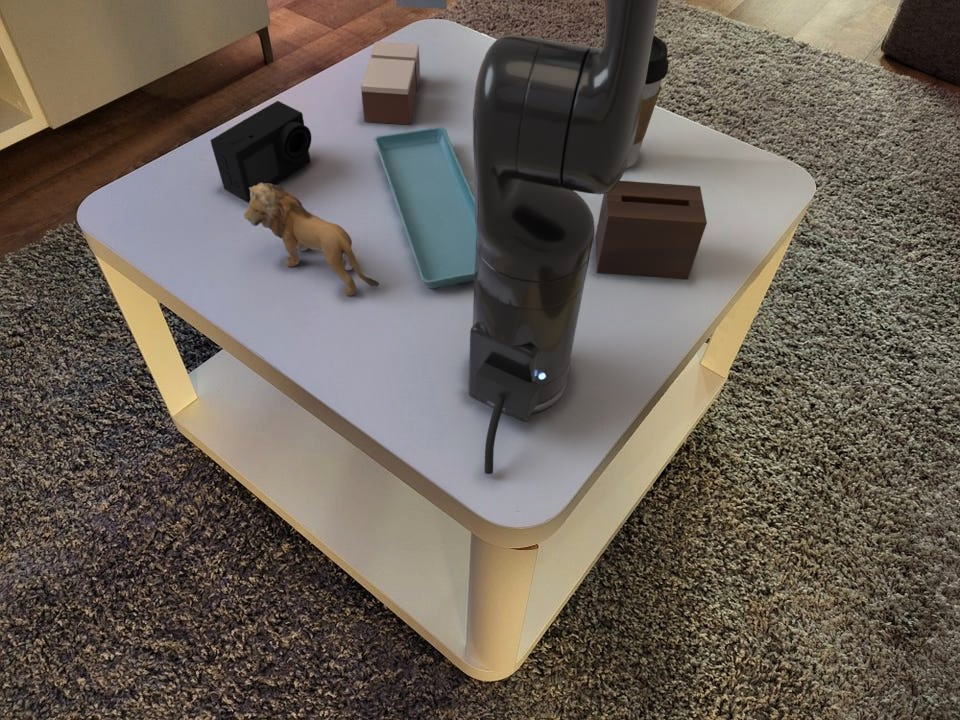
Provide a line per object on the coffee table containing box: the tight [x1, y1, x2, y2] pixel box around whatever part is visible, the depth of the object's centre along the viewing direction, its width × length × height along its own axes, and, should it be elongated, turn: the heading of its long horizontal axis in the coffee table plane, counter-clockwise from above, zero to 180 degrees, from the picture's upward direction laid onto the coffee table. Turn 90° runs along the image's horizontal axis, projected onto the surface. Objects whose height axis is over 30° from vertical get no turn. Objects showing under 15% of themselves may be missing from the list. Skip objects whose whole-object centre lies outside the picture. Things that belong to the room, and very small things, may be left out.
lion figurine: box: [243, 183, 380, 296], centre depth 79 cm, size 15×5×9 cm, turn 66°
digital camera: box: [210, 100, 312, 203], centre depth 89 cm, size 10×5×7 cm, turn 144°
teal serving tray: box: [373, 126, 476, 289], centre depth 88 cm, size 26×9×2 cm, turn 16°
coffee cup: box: [600, 34, 669, 170], centre depth 91 cm, size 8×8×15 cm
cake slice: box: [370, 41, 421, 94], centre depth 104 cm, size 4×6×5 cm, turn 86°
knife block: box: [594, 180, 708, 280], centre depth 82 cm, size 6×10×8 cm, turn 86°
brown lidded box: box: [360, 57, 417, 126], centre depth 100 cm, size 7×6×5 cm
